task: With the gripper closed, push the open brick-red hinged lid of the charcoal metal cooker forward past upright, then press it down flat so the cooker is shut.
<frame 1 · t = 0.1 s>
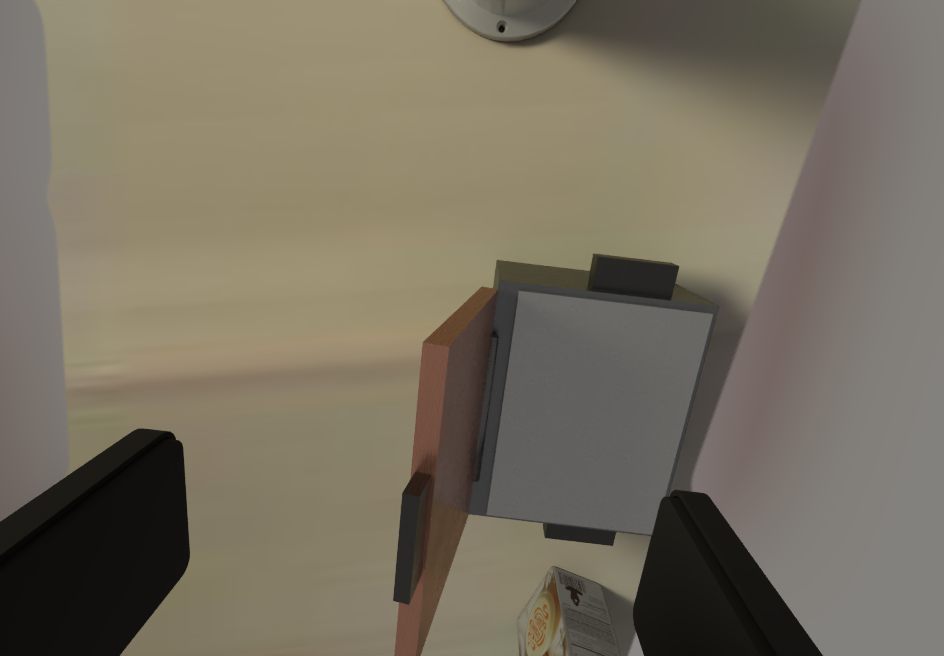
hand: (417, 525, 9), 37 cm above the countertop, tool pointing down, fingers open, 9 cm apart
cooker base: (564, 371, 47), on the countertop
coffee box: (558, 601, 56), on the countertop
lid: (444, 458, 30), point 18 cm above the countertop, hinge at 100.0°
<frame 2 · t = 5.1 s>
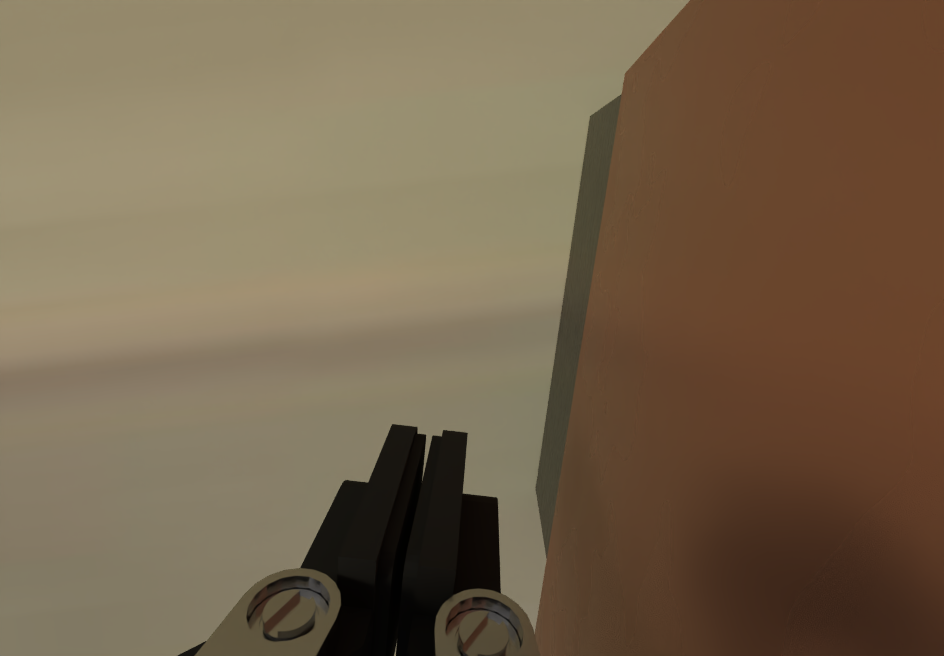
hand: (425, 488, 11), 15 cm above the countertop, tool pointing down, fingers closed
cooker base: (713, 337, 25), on the countertop
lid: (634, 627, 8), point 18 cm above the countertop, hinge at 93.6°, touching gripper
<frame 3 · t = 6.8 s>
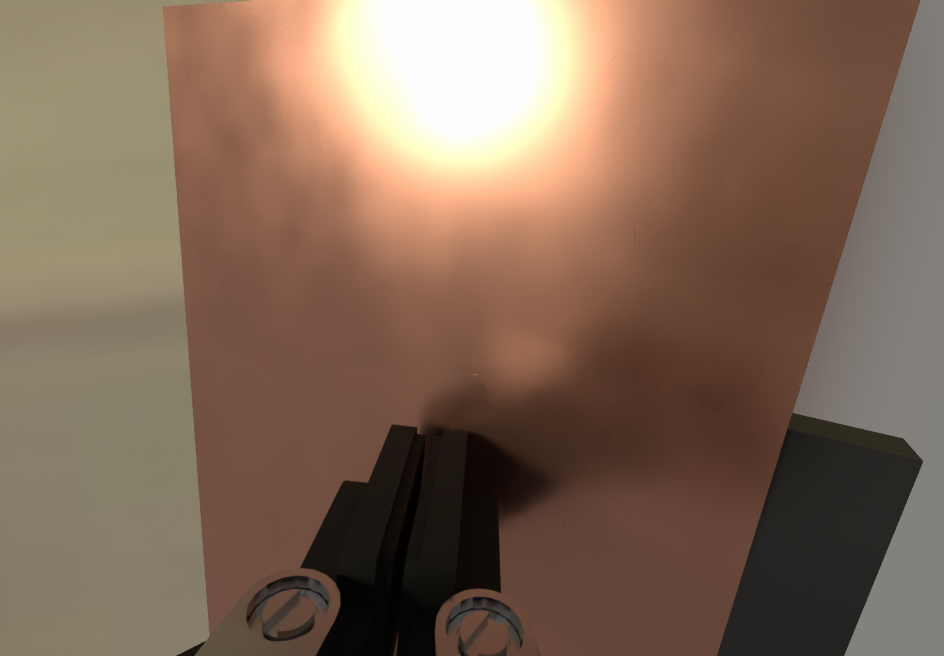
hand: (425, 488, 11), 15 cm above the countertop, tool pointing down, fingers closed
lid: (430, 467, 11), point 15 cm above the countertop, hinge at 22.7°, touching gripper
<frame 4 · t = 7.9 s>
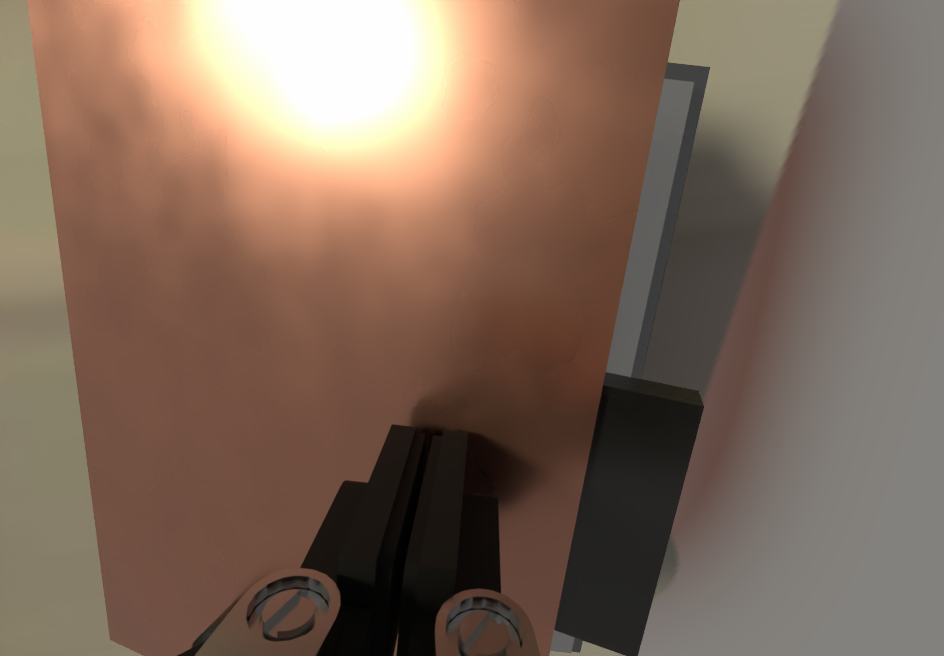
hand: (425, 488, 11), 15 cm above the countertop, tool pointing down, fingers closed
cooker base: (424, 309, 25), on the countertop
lid: (315, 441, 12), point 14 cm above the countertop, hinge at 16.0°, touching gripper
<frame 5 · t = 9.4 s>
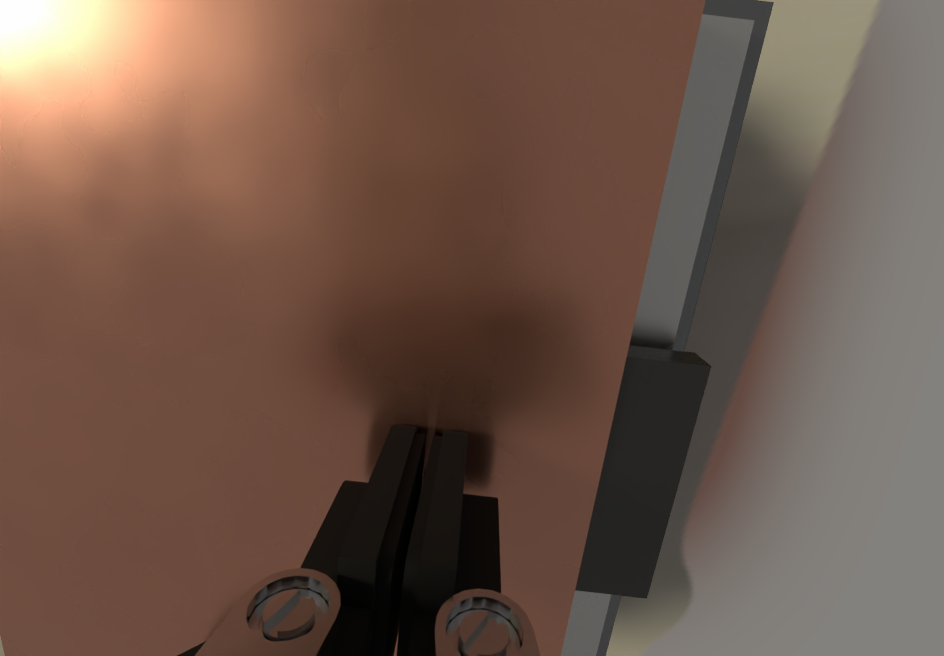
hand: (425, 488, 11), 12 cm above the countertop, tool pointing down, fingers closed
cooker base: (407, 312, 22), on the countertop
lid: (310, 449, 11), point 12 cm above the countertop, hinge at -0.2°, touching gripper
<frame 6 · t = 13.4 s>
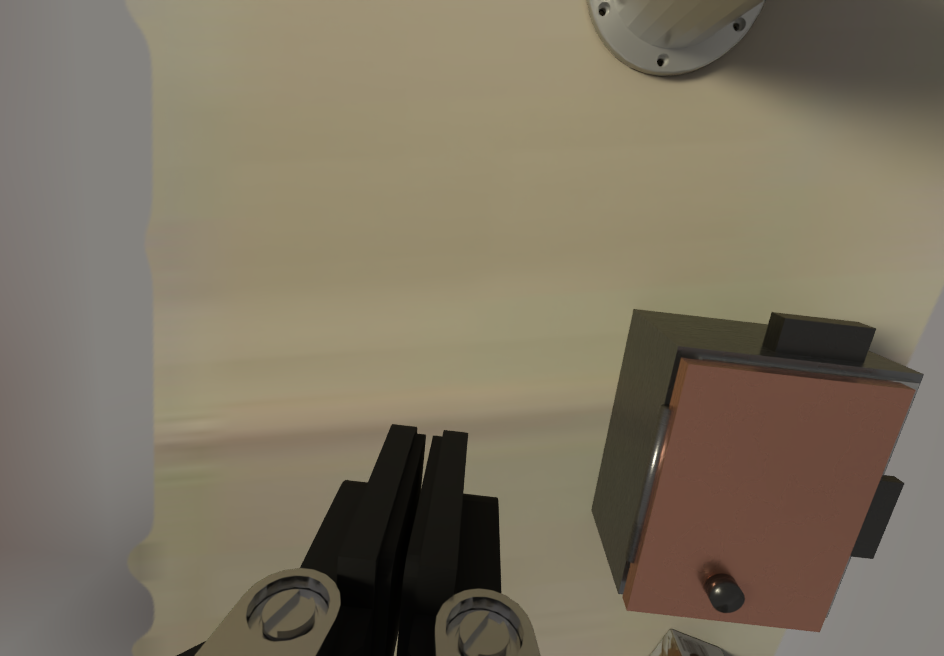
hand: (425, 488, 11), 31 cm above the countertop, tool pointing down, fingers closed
cooker base: (699, 426, 44), on the countertop
lid: (767, 507, 33), point 12 cm above the countertop, hinge at -0.2°
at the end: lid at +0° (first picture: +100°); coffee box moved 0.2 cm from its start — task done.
